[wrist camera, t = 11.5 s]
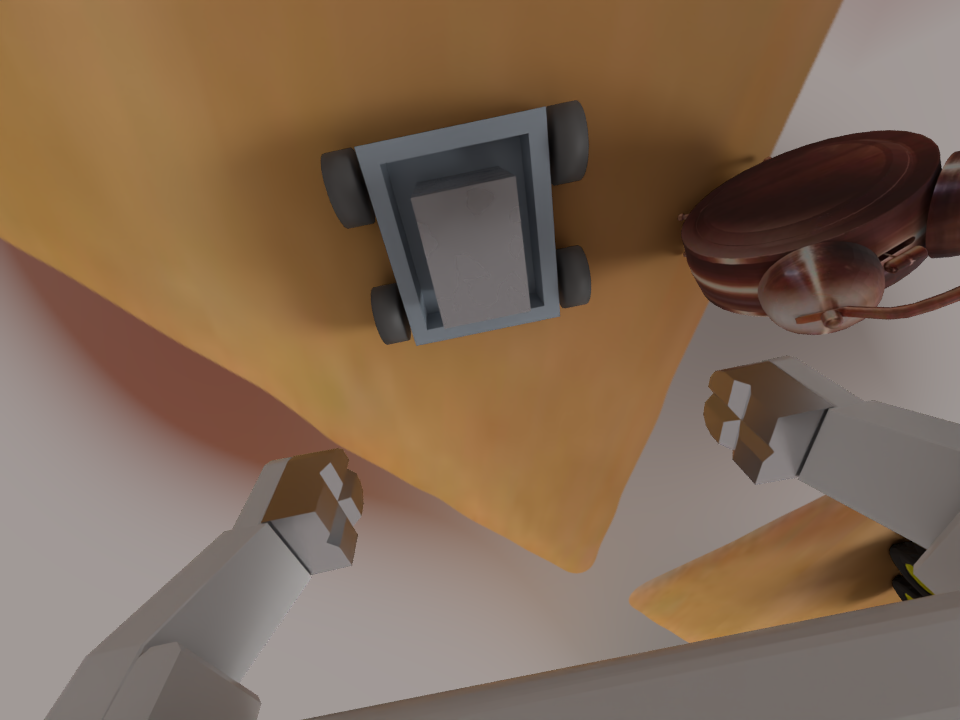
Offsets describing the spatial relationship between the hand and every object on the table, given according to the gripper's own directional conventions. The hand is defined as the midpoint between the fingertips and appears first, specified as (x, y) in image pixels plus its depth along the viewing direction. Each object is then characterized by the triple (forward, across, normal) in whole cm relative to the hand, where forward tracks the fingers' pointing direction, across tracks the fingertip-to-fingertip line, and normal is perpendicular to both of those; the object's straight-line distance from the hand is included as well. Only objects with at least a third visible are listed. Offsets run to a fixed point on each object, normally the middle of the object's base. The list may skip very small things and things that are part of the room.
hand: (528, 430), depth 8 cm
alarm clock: (+20, -18, +2) cm, 27 cm away
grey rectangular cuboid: (+19, 0, 0) cm, 19 cm away
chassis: (+20, 0, 0) cm, 20 cm away
